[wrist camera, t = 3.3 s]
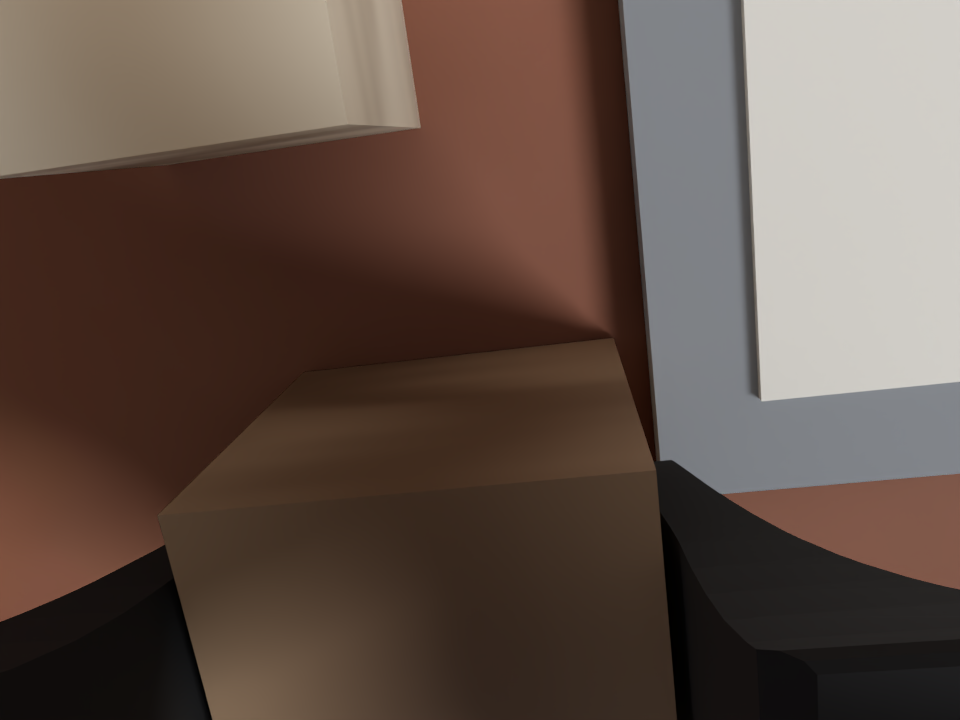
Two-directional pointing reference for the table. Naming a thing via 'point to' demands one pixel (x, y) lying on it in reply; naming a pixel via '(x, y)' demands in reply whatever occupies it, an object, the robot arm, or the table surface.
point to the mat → (798, 235)
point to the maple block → (194, 79)
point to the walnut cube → (432, 547)
